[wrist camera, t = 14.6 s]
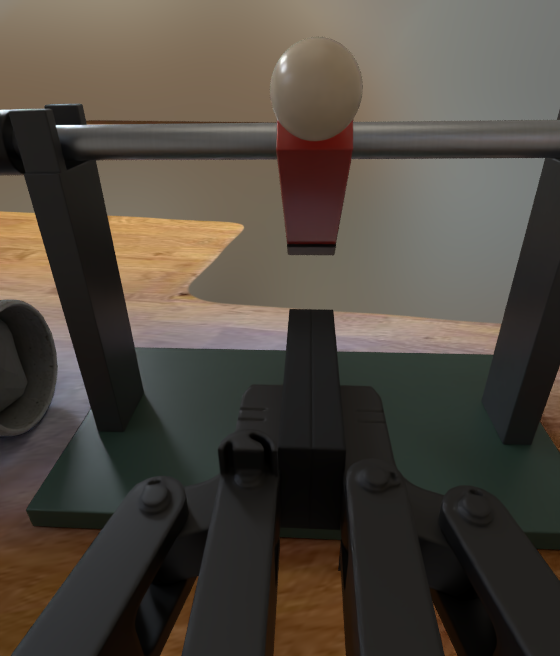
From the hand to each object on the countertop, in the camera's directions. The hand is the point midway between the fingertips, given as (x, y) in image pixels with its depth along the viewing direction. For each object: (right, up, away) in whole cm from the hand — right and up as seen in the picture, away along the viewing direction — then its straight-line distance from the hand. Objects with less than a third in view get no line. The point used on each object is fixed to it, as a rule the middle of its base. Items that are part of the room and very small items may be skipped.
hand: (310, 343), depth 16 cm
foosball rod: (-1, +7, +14) cm, 15 cm away
